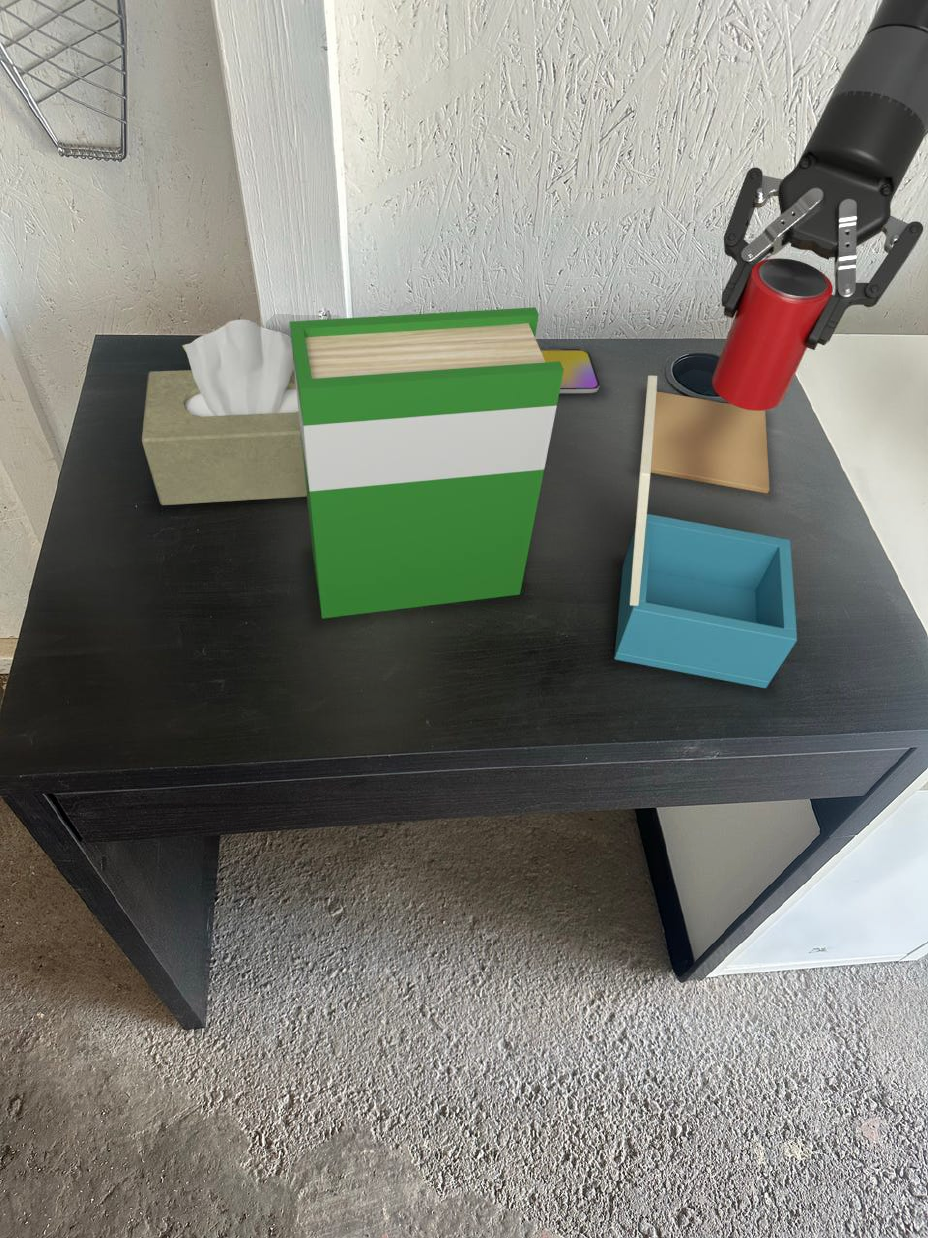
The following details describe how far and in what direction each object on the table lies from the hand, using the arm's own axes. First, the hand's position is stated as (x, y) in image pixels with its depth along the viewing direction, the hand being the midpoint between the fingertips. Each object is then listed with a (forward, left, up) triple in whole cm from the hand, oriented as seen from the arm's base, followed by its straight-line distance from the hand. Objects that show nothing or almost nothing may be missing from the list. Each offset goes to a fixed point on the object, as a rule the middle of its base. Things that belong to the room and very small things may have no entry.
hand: (769, 329), depth 67 cm
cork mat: (-1, -13, -22) cm, 25 cm away
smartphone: (+19, -19, -22) cm, 34 cm away
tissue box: (+43, +3, -22) cm, 48 cm away
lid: (+7, +13, -7) cm, 17 cm away
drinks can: (-1, -2, -7) cm, 7 cm away
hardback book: (+25, +13, -22) cm, 36 cm away
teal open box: (0, +13, -22) cm, 25 cm away
